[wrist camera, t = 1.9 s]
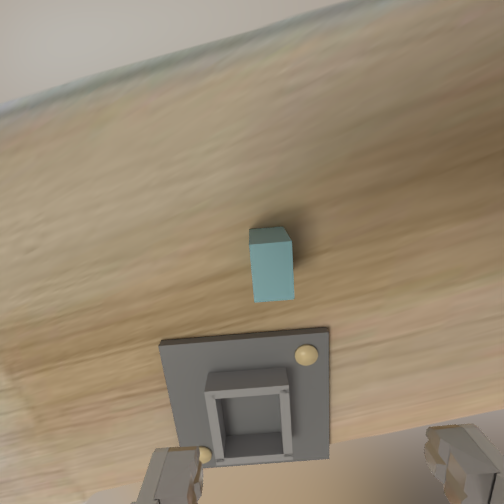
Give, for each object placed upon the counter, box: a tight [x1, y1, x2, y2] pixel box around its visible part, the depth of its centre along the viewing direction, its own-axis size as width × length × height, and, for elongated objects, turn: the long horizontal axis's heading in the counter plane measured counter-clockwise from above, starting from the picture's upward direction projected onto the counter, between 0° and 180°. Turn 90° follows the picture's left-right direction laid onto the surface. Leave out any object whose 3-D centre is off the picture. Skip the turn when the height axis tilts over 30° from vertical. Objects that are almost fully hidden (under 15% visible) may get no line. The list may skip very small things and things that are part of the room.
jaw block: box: [249, 227, 294, 302], centre depth 30 cm, size 4×6×7 cm, turn 5°
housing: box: [158, 327, 329, 468], centre depth 37 cm, size 22×22×4 cm
